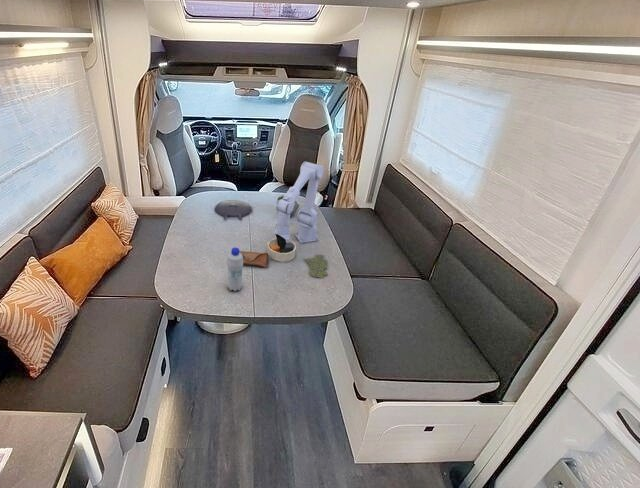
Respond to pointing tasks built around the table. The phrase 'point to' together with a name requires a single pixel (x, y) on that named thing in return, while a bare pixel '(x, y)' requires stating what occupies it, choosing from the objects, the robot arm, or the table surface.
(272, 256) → the bowl
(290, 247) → the slate block
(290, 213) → the potted plant
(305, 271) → the table surface
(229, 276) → the bottle
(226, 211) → the toy spaceship
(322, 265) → the map
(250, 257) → the sunglasses case
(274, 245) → the orange block
